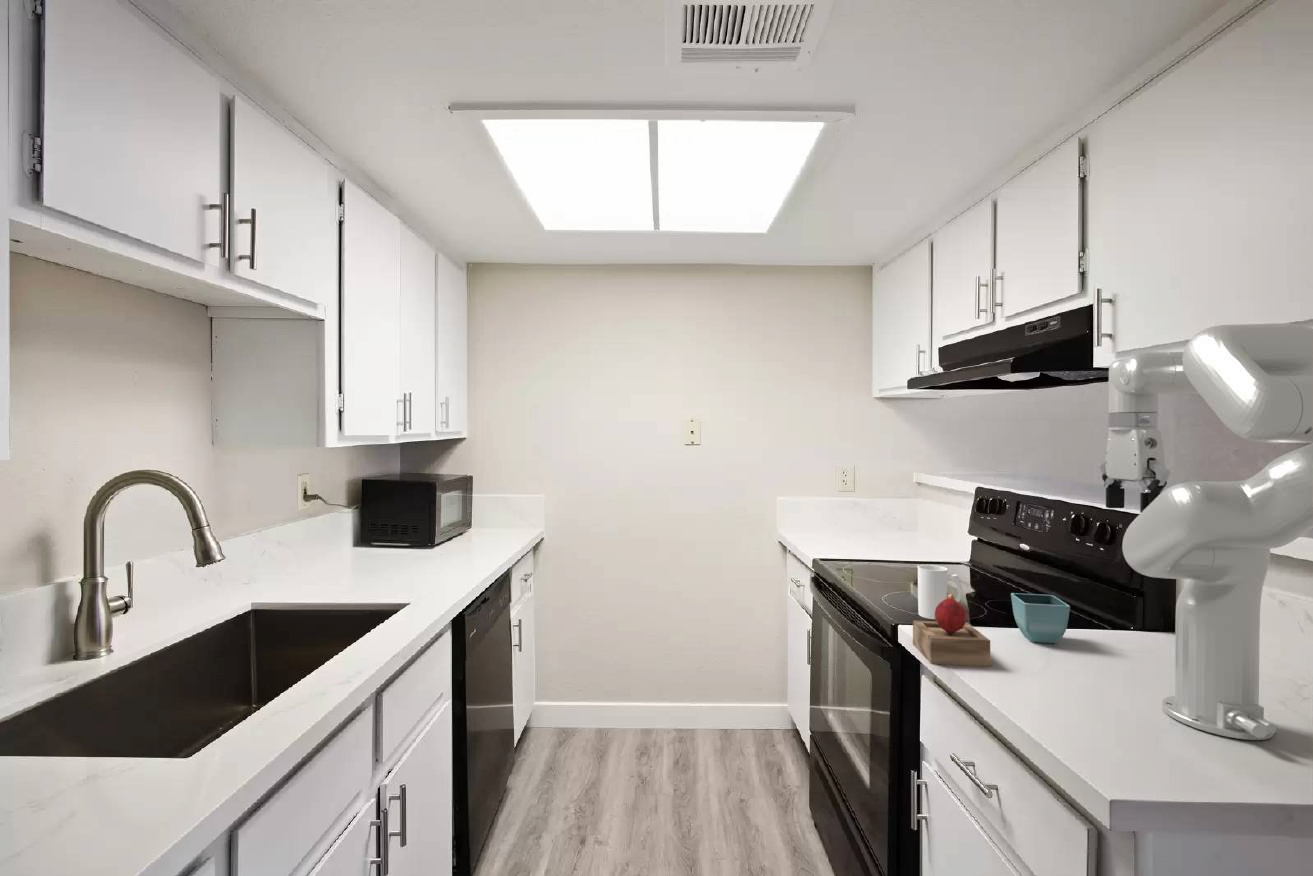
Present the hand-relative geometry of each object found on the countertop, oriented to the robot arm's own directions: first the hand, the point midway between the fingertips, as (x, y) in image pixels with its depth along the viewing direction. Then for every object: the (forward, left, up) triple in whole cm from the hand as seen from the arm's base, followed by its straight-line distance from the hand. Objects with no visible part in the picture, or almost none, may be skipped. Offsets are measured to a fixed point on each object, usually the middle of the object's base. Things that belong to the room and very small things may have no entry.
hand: (1132, 511), depth 113 cm
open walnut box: (+2, +33, -30) cm, 45 cm away
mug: (+28, +26, -31) cm, 49 cm away
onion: (+2, +32, -26) cm, 42 cm away
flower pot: (+14, +10, -31) cm, 35 cm away
